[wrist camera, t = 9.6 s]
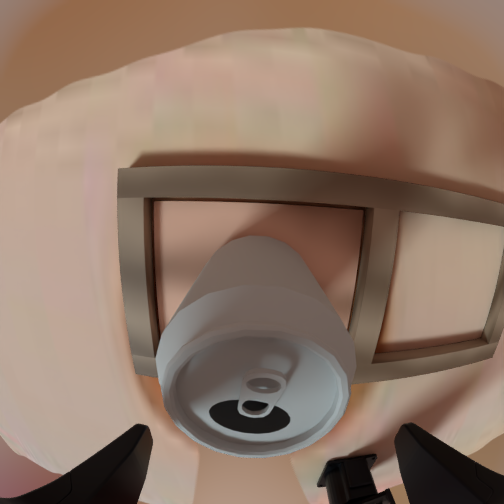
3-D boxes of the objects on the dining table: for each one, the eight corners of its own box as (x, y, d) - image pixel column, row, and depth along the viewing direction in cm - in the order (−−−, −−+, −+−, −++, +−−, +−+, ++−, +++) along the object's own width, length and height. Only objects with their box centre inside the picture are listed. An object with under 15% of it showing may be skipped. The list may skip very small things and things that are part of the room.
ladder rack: (485, 351, 21) (492, 357, 20) (141, 364, 22) (135, 373, 20) (517, 209, 18) (527, 211, 16) (127, 169, 18) (117, 168, 17)
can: (195, 322, 20) (144, 448, 8) (212, 222, 18) (143, 278, 7) (294, 341, 20) (324, 473, 9) (321, 245, 19) (408, 327, 7)
